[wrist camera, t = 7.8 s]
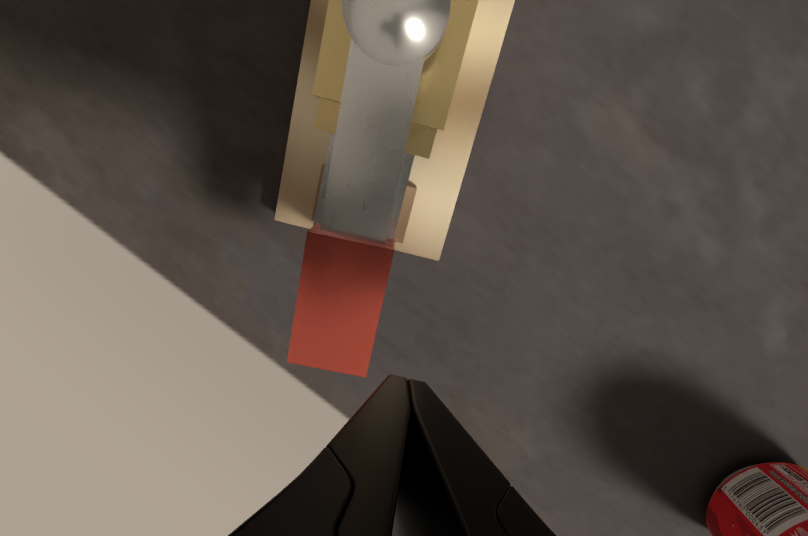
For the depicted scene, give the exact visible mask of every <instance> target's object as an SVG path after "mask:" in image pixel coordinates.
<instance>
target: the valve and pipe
mask: <svg viewBox="0 0 808 536" xmlns="http://www.w3.org/2000/svg"><path fill="white" fill-rule="evenodd" d="M450 1H451V3H450V14H449V19H448V23H447V26H446V29H445V32H444V35H443V37H442V40H441V42H440V44H439V46H438V47H437V49H436V50H435V52H434V53H433V54H432V55H431V56H430V57H429V58H428V59H427V60H426V61H425V62H424V63H423V68H422V72H421V77H420V82H419V87H418V91H417V96H416V101H415V105H414V110H413V115H412V119H411V124H410V129H409V134H408V138H407V143H406V148H405V152H404V157H403V162H402V167H401V171H400V176H399V181H398V185H397V190H396V195H395V199H394V204H393V209H392V214H391V218H390V223H389V228H388V232H387V237H386V238H389V239H394V235H395V231H396V227H397V223H398V219H399V215H400V211H401V207H402V203H403V199H404V195H405V191H406V187H407V183H408V180H409V176H410V172H411V168H412V164H413V160H414V156H415V155H416V156H420V157H424V158H427V159H429V158H430V155H431V151H432V147H433V143H434V139H435V136H436V134H437V133H439V132H441V131H443V130H444V127H445V123H446V120H447V116H448V112H449V108H450V105H451V101H452V97H453V94H454V90H455V86H456V82H457V79H458V75H459V71H460V68H461V64H462V60H463V56H464V53H465V49H466V45H467V42H468V38H469V34H470V31H471V27H472V23H473V19H474V16H475V12H476V8H477V5H478V1H479V0H450ZM350 42H351V37H350V34H349V32H348V30H347V28H346V25H345V22H344V18H343V13H342V0H329V2H328V7H327V13H326V19H325V24H324V30H323V36H322V41H321V47H320V53H319V58H318V64H317V70H316V75H315V81H314V86H313V92H312V95H314V96H316V97H317V98H319V102H318V108H317V113H316V119H315V124H314V128H315V129H319V130H323V131H326V132H330V133H331V136H330V141H329V146H328V151H327V156H326V161H325V166H324V172H323V177H322V182H321V187H320V192H319V197H318V202H317V208H316V213H315V218H314V223H313V226H314V225H315V224H316V223H320V224H321V219H322V213H323V207H324V201H325V195H326V189H327V183H328V177H329V170H330V164H331V158H332V152H333V146H334V140H335V134H336V128H337V122H338V115H339V109H340V103H341V97H342V91H343V85H344V79H345V73H346V67H347V60H348V54H349V48H350Z"/></svg>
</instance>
